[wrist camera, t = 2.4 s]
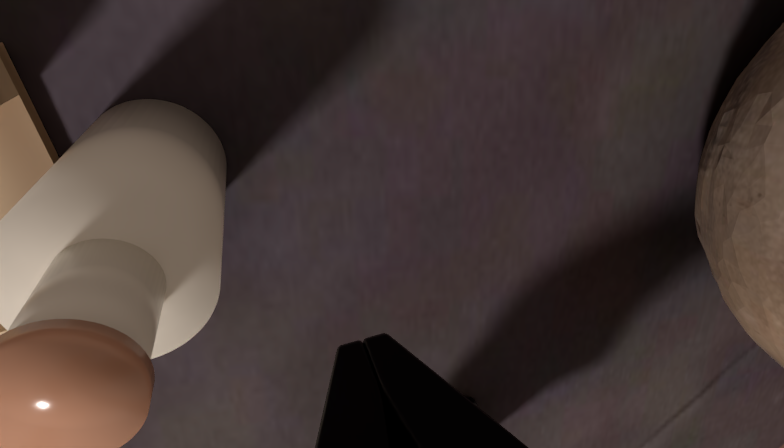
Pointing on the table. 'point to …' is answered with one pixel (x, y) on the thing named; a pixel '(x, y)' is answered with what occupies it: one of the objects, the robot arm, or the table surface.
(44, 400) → the bottle
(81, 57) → the table surface
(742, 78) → the ceramic bowl
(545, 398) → the table surface
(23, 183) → the cradle
